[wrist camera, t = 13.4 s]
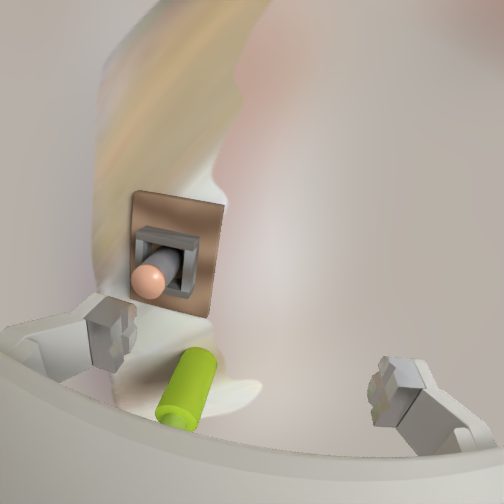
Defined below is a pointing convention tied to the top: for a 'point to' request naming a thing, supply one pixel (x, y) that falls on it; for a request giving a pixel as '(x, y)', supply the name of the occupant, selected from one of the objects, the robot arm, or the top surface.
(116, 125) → the top surface
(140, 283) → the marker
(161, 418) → the soap dispenser
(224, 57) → the top surface
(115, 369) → the robot arm
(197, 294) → the wooden socket board
